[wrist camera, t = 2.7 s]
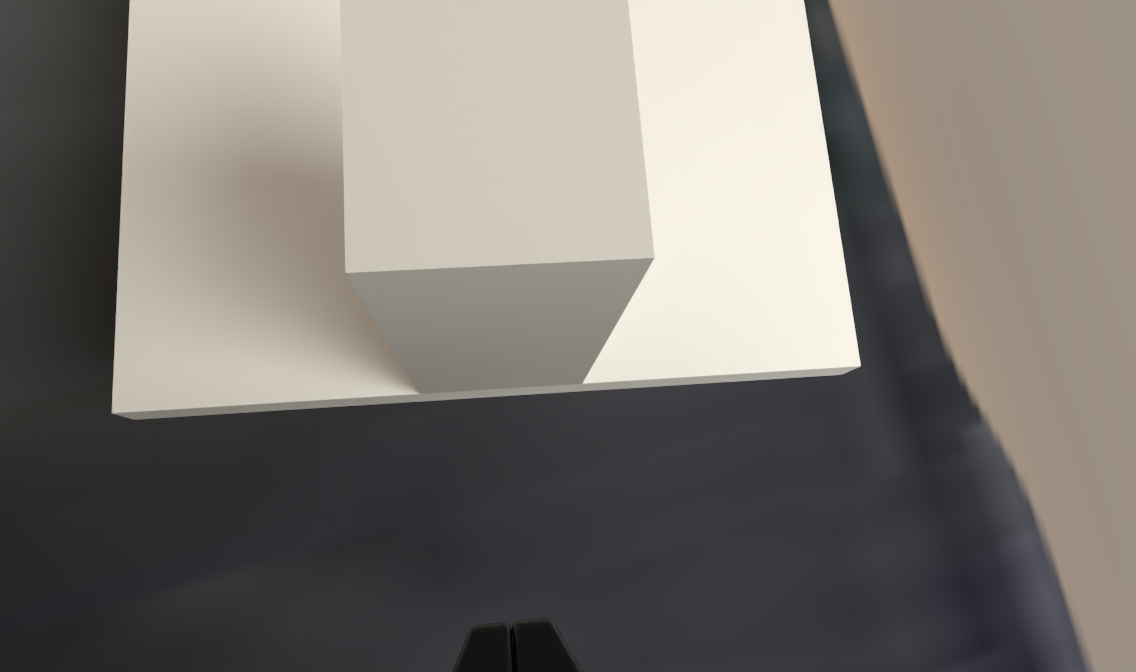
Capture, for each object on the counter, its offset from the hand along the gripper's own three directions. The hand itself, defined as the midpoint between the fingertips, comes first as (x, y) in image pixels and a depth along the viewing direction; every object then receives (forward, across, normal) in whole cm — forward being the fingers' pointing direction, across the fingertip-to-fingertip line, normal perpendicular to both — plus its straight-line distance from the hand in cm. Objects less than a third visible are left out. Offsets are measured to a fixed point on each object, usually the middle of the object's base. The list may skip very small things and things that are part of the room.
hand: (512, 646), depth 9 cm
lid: (+9, 0, -3) cm, 10 cm away
